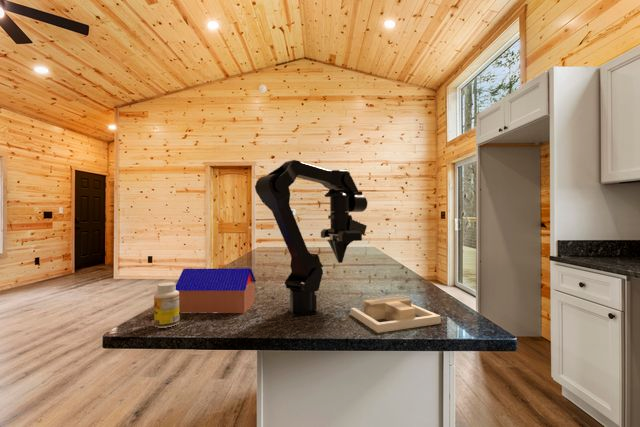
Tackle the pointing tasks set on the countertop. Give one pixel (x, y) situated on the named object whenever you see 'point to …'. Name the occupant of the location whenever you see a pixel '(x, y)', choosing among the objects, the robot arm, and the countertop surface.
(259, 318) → the countertop surface
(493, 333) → the countertop surface
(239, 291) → the house
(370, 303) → the tee block
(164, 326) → the supplement bottle
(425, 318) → the corral
